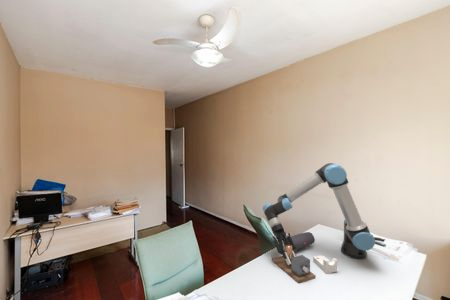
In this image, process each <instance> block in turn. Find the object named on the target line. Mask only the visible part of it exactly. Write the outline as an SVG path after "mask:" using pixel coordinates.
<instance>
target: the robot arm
mask: <svg viewBox="0 0 450 300" xmlns="http://www.w3.org/2000/svg"><path fill="white" fill-rule="evenodd" d="M346 171H347V170H346V169H345V168H344V167H342V166H341V165H340V164H336V163H332V162H331V163H330V162H329V163H326V164H324V165H322V166H321V167H320V168H319V169H317V170H316V171H315V172H314V174H313V175H311V176H310V177H308V178H306V179H305V180H303V181H302V182H301V183H299V184H298V185H296V186H294V187H293V188H291V189H290V190H289V191H287V192H286V193H284V194H282V195H279V196H278V198H277V202H276V203H274V204H273V203H271V202H268V203H266V204H264V205H263V206H262V211H263V214H264V216H265V218H266V220H267V222H268V224H269V227H270V229H271V232H272V234H273V236H271V240H272V242H273V243H274V244H273V245H274V246H275V249H276V250H277V253H278V254H280V255H281V256H283V257H284V259H285V260H286V262H287V264H288V265H290V264H291V262H290V260H289V257H288V255H287V253H286V252H285V249H284V248H285V246H284V242H285V244H286V245H287V244H289V245H292V257H296V256H297V254H296V251H295V250H294V249H296V247H295V245H294V243H293V241H292V239H291V234H290V232H288V233H286V231H285V229H284V226H283V225H282V222H281V220H280V218H279V215H281V214H284V213H285V212H288V211H289V210H292V209H293V204H292V203H293V202H295V201H296V200H297V199H299V198H300V197H302V196H303V195H305V194H306V193H307V194H308V192H310V191H311V190H314V188H316V187H318V186H319V185H321V184H326V183H327V185H328V187H329V189H331V190H332V191H333V194H334V196H335V198H336V201H337V203H338V205H339V208H340V211H341V213H342V215H343V217H344V221H343V242H342V243H341V247H340V252H341V253H342V254H343V255H345V256H347V257H348V258H352V259H357V260H365V259H366V258H367V257H368V252H367V251H370V250H372V249H373V248H374V247H375V245H376V239H375V237H374V235H373V234H372V233H371V232H370V229H369V227H368V225H367V223H366V222H364V221H363V220H362V217H361V215H360V213H359V211H358V208H357V206H356V203H355V201H354V199H353V197H352V194H351V192H350V189H349V187H348V185H349V183H350V182H349V180H348V178H347V175H348V174H347V172H346ZM287 239H288V240H287Z"/></svg>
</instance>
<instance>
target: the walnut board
mask: <svg viewBox="0 0 450 300" xmlns="http://www.w3.org/2000/svg"><path fill="white" fill-rule="evenodd" d="M272 261H273V262H272ZM271 262H272V263H274V264H275V265H276V266H277V267H278V268H280V269H281V270H282V272H285V273H286V274H287V275H288V276H289V277H290V278H292V279H293V280H294V281H295V282H296V283H297V284H301V283H304V282H307V281H311V280H313V279H316V274H314V273H313V272H312V271H310V274H309V275H306V276H302V277H298V276H296V275H295V274H294V273H293V272H291V265H288V264H286V263H285V259H284V257H283V255H280V256H276V257H273V258H271Z"/></svg>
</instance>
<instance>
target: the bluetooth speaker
mask: <svg viewBox="0 0 450 300" xmlns="http://www.w3.org/2000/svg"><path fill="white" fill-rule="evenodd" d="M290 237H291V239H292V241H293V243H294V245H295V247H296V249H294V252H298V251H301V250H303V249H306V247H309V246H311V245H313V244H314V243H315V241H316V240H315V237H314V234H313V233H312V232H310V231H306V232H301V233H299V234H297V233H296V234H295V235H292V236H291V235H290ZM287 240H288V239H287ZM283 247H284V248H286V244H285V242H283Z"/></svg>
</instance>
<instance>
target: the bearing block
mask: <svg viewBox="0 0 450 300" xmlns="http://www.w3.org/2000/svg"><path fill="white" fill-rule="evenodd" d="M302 266H305V267H307V268H308V269H309V272H308V273H306V272H305V271H303V270H302ZM291 272H293V273H294V274H295V275H296V276H298V277H302V276H306V275H309V274H310V272H311V259H310V258H308V257H306V256H304V254H300V255H296V257H292V258H291Z"/></svg>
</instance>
